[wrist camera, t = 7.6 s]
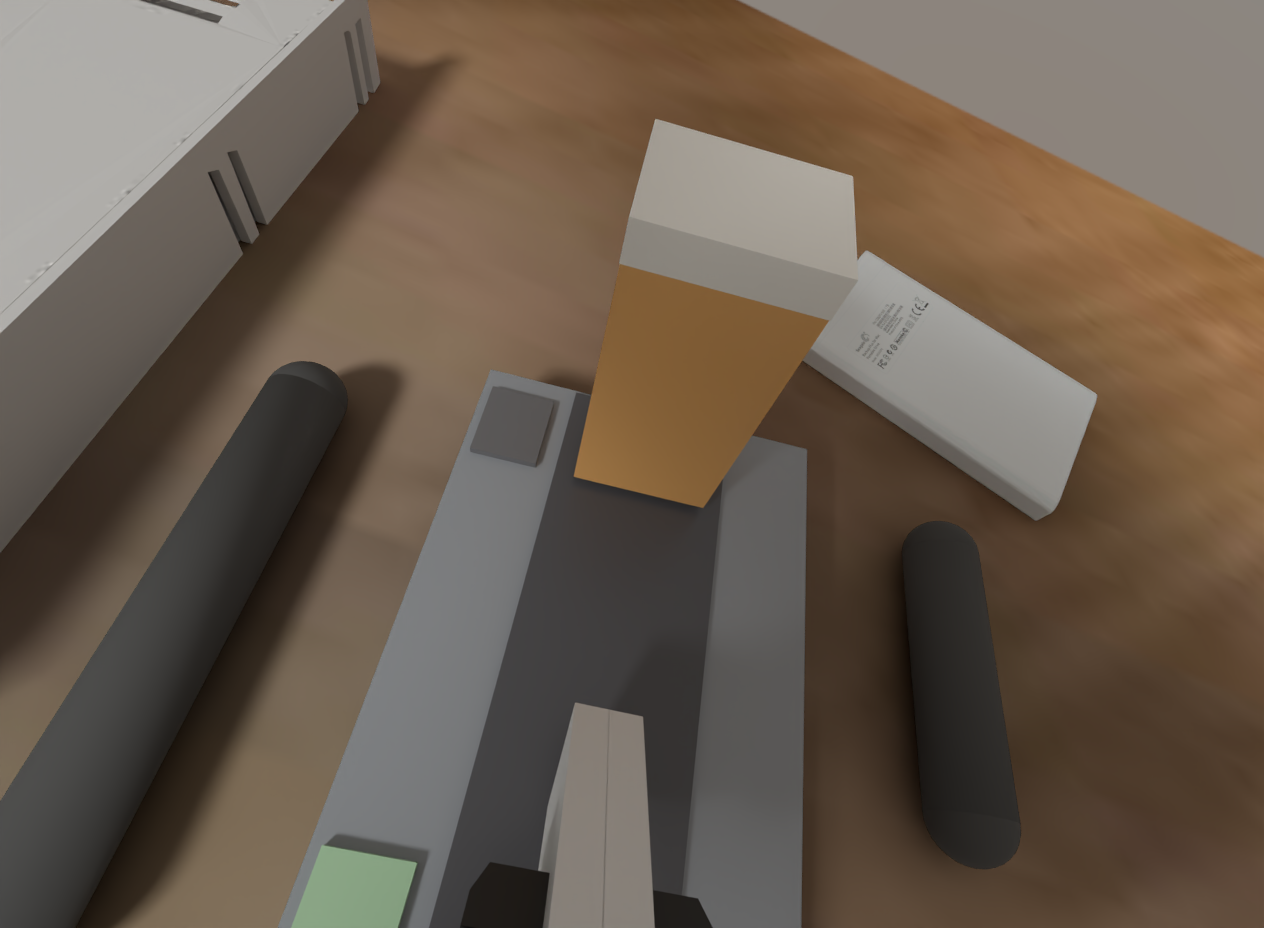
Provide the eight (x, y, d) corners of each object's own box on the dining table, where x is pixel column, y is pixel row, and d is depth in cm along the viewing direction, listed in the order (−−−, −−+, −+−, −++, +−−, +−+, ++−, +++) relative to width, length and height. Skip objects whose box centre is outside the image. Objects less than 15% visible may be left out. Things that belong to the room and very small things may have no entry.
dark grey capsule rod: (985, 872, 17) (1051, 881, 15) (908, 857, 17) (963, 863, 15) (945, 545, 23) (989, 518, 21) (886, 530, 22) (925, 502, 20)
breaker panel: (749, 1179, 13) (803, 1259, 11) (242, 1101, 12) (181, 1170, 10) (778, 483, 23) (810, 445, 20) (491, 412, 22) (490, 364, 19)
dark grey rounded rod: (52, 1015, 12) (-37, 1056, 10) (-70, 995, 12) (-184, 1033, 10) (365, 400, 21) (350, 356, 19) (296, 383, 21) (274, 337, 19)
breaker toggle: (703, 508, 18) (857, 280, 10) (572, 477, 18) (628, 216, 10) (713, 427, 19) (852, 176, 12) (593, 397, 19) (655, 118, 11)
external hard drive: (1025, 527, 24) (778, 354, 27) (1071, 411, 29) (853, 269, 31) (1057, 510, 23) (793, 330, 25) (1101, 390, 27) (870, 244, 29)
